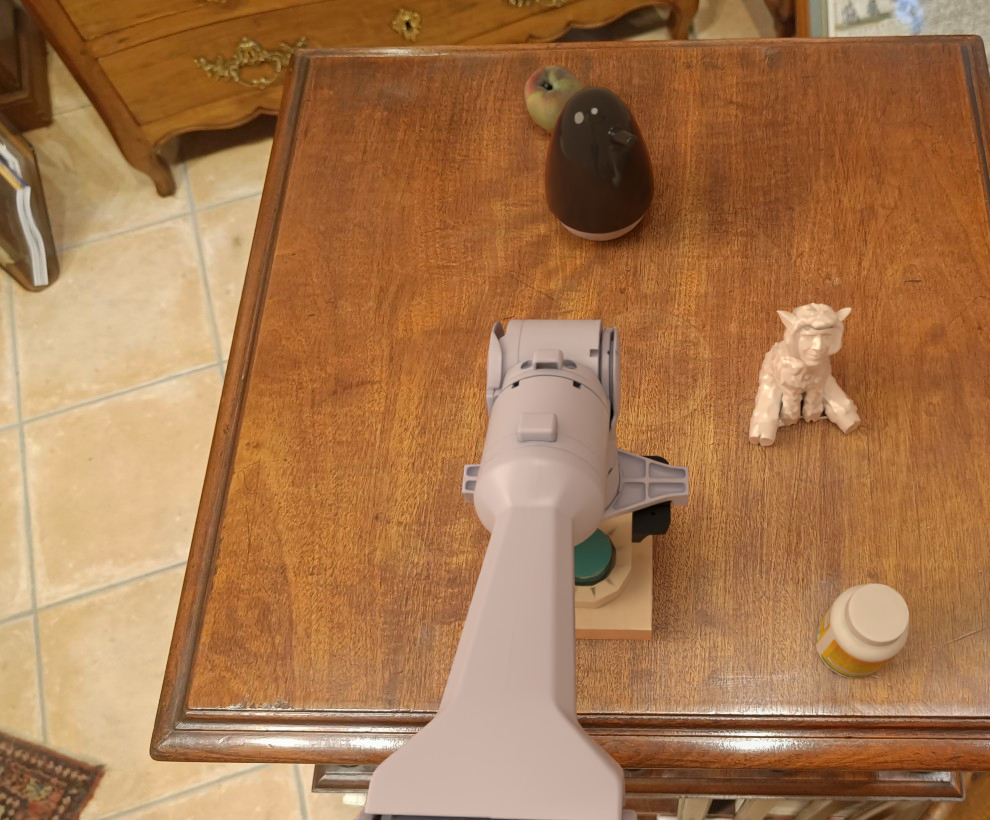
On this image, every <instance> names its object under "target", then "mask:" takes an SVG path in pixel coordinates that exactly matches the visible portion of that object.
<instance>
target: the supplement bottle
mask: <svg viewBox="0 0 990 820" xmlns="http://www.w3.org/2000/svg"><path fill="white" fill-rule="evenodd" d="M909 622H910V610H909V606H908V604H907V602H906V600H905V599H904V597H903V596H902V595H901V594H900V592H899V591H897V589H894V588H893V587H892V586H889V585H887V584H884V583H880V582H879V583H876V582H872V583H871V582H870V583H867V584H857V585H854V586H850V587H849V588H846V589H845V590H844V591H842V592H841V593H840V594H839V595H838V596H837V597H836V598H835V599H834V601H833V603H831V605H830V606H829V608H828V610H827V611H826V613H825V614H824V615H823V617H822V618H821V620H820V621H819V623H818V625H817V629H816V632H815V648H816V651H817V653H818V656H819V657H820V659H821V661H822V662H823V663H824V665H825V666H826V667H827V668H829V669H830V670H831V671H833V672H834V673H835V674H837V675H839V676H841V677H845V678H848V679H863V678H867V677H869V676H872V675H873V674H875V673H876V672H878V671H879V670H880V669H881V668H882V667H883V666H885V665H886V664H887V663H888V662H889V661H890V660H891V659H893V658H894V657H895V656H896V655H898V653H899V652H901V650H902V649H903V647H904V646H905V644H906V643H907V640H908V637H909V631H910V623H909Z"/></svg>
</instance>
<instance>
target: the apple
mask: <svg viewBox="0 0 990 820" xmlns="http://www.w3.org/2000/svg"><path fill="white" fill-rule="evenodd" d="M584 88H585V87H584V86H583V84H582V82H581V81H580V79H579V77H578V76H577V75H576V74H575V73H574V72H573V71H571V70H570V69H569V68H567V67H565V66H563V65H560V64H556V65H555V64H554V65H553V64H552V65H550V64H549V65H542V66H541V67H538V69H536V70H535V71H534V72H533V73H532V74H531V75H530V76H529V78H527V80H526V82H525V85H524V91H523V95H524V101H525V107H526V109H527V112H528V114H529V115H530V117H531V119H532V121H533V122H534V123H535V124H536V125H537V126H539V127H541V128H542V129H544V130H545V131H547V132H548V133H550V134H552V131H553V128H554V125H555V123H556V120H557V118H558V116H559V114H560V112H561V110H562V108H563V107H564V105H565V104H566V102H567V101H568V100H569V99H570V98H571V97H572V96H573V95H574V94H575V93H576V92H578V91H579V90H581V89H584Z"/></svg>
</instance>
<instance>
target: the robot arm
mask: <svg viewBox="0 0 990 820" xmlns="http://www.w3.org/2000/svg"><path fill="white" fill-rule="evenodd" d="M488 343H489V344H488V349H487V359H486V387H485V389H486V392H485V400H486V407H487V415H488V421H489V422H488V425H487V431H486V435H485V438H484V439H485V440H484V445H483V449H482V453H481V458H480V463H471V464H470V463H469V464H467V463H466V464H464V465H463V466H464V467H463V476H462V485H461V494H462V496H463V498H464V500H465V502H466V504H473V506H474V510H475V513H476V516H477V518H478V520H479V521H480V523H481V525H482V526H483V527H484V529H486V531H487V532H488V533H490V538H489V540H488V541H489V542H488V544H487V549H486V551H485V554H484V558H483V560H482V561H483V562H482V565H481V568H480V571H479V575H478V579H477V581H476V585H475V588H474V591H473V595H472V598H471V601H470V604H469V607H468V611H467V614H466V618H465V621H464V626H463V628H462V631H461V634H460V637H459V642H458V644H457V648H456V650H455V655H454V658H453V660H452V665H451V668H450V671H449V675H448V677H447V681H446V684H445V688H444V691H443V695H442V697H441V701H440V704H439V707H438V709H437V711H436V713H435V715H434V717H433V718H432V720H431V721H429V722H428V723H427V724H425V726H423V727H422V728H420V730H418V731H417V732H416V733H415V734H413V736H412V737H410V738H409V739H408V740H407V741H405V742H404V743H403V744H402V745H400V747H398V748H397V749H396V750H395V751H393V752H392V753H391V754H390V755H389V756H387V757H386V759H384V760H383V761H382V762H381V763H380V764H379V765H378V766H377V767H376V768H375V770H374V771H373V773H372V775H371V777H370V780H369V785H368V792H367V794H366V795H367V796H366V800H365V805H364V807H363V808H362V809H361V810H360V811H359V812H358V813H357V816H356V817H355V818H354V819H353V820H638V813H637V812H636V810H634V809H627V808H626V809H623V807H625V806H626V779H625V773H624V769H623V768H622V766H621V765H620V764H619V762H618V761H616V760H615V758H614V757H612V756H611V754H609V753H608V752H607V751H606V750H605V749H604V748H603V747H602V746H601V745H600V744H599V743H598V742H597V741H596V740H595V739H594V738H592V736H590V734H588V733H587V732H586V731H585V730H584V728H583V727H582V725H581V724H580V722H579V719H578V700H577V697H578V696H577V695H578V693H577V639H576V631H575V572H574V546H576V545H578V544H580V543H581V542H583V541H584V540H586V539H587V538H588V537H590V536H591V535H592V534H593V533H594V532H595V531H596V529H597V528H598V527H599V525H600V523H601V522H603V521H606V520H609V519H612V518H615V517H618V516H621V515H624V514H627V513H630V512H632V543H640V542H641V541H642V540H643V539H644V538H646V537H647V536H649V535H653V536H663V535H666V534H667V533H668V531H669V529H670V528H671V523H672V506H675V507H688V505H689V498H690V497H689V496H690V479H689V478H690V474H689V473H690V471H689V470H690V469H689V466H682V465H672V464H670V462H668V460H667V459H666V458H664V457H662V456H660V455H639V454H636V453H634V452H631V451H628V450H625V449H622V448H618V439H617V438H618V437H617V436H618V435H617V425H618V421H619V418H620V413H621V401H622V344H621V337H620V332H619V330H618V329H617V326H616V325H614V326H613V327H605V328H604V325H603V320H602V319H601V318H599V319H597V318H591V319H588V318H587V319H583V318H582V319H581V318H579V319H578V318H576V319H575V318H573V319H572V318H571V319H568V318H567V319H566V318H565V319H563V318H559V319H558V318H555V319H550V318H549V319H542V318H541V319H538V318H535V319H534V318H533V319H532V318H529V319H526V318H525V319H524V318H523V319H522V318H521V319H519V318H517V319H516V318H514V319H513V318H512V319H509V321H508V322H507V326H506V330H504V327H503V324H502V322H500V321H499V320H496V321H495V322H494V323H493V326H492V329H491V332H490V338H489V342H488Z"/></svg>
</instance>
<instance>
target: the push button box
mask: <svg viewBox="0 0 990 820" xmlns="http://www.w3.org/2000/svg"><path fill="white" fill-rule="evenodd" d="M598 528H599V529H600V530H602V531H603V532H604V533H605V534H606V535H607V537H608V539H609V541H610V543H611V549H612V563H611V566H610V569H609V570H608V572H607V573H606V574H605V575H604V576H603V577H602V578H601V579H599V580H597V581H595V582H592V583H578V582H575V631H576V640H625V641H628V640H629V641H652V640H653V537H654V535H649V536H647V537H646V538H644V539H643V540H642V541H641V542H640V543H632V512H630V513H627V514H624V515H621V516H618V517H615V518H612V519H609V520H606V521H603V522H601V523H600V525H599V527H598Z"/></svg>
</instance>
